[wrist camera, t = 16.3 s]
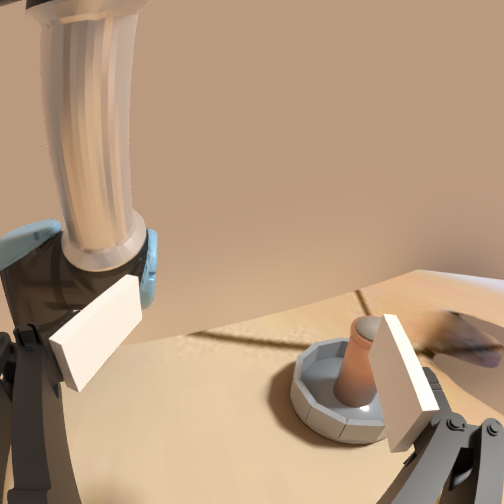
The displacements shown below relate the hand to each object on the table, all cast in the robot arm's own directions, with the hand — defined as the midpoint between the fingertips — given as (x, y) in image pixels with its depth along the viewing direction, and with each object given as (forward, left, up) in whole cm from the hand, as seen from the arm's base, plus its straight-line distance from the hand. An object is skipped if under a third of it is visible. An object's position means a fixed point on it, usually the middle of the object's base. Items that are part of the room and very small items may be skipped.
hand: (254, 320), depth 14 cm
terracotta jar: (-11, +22, -24) cm, 34 cm away
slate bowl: (-11, +22, -25) cm, 35 cm away
